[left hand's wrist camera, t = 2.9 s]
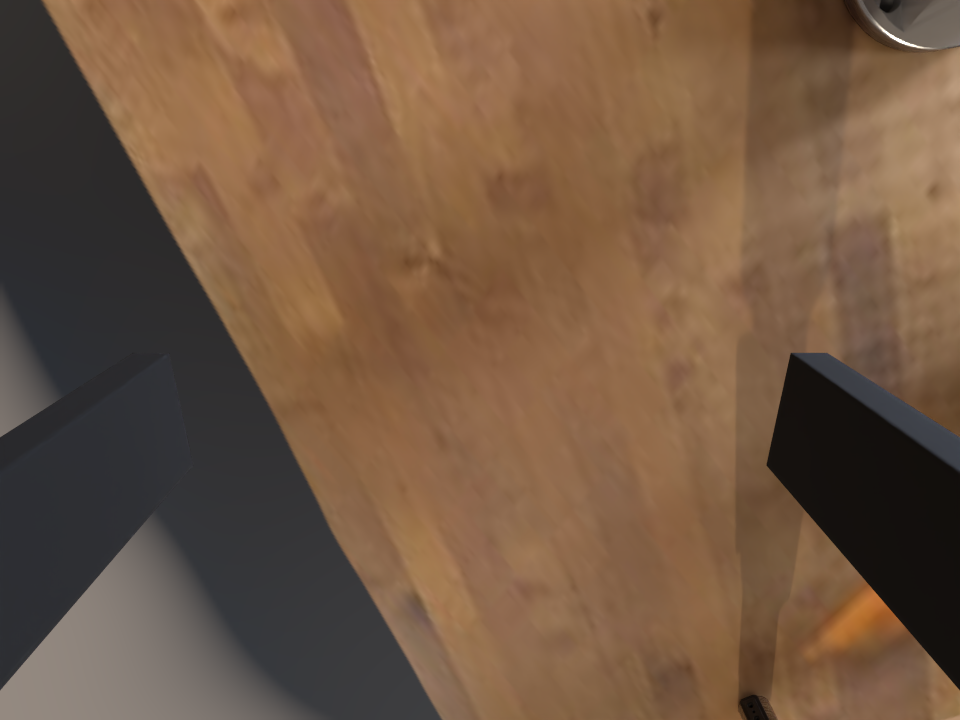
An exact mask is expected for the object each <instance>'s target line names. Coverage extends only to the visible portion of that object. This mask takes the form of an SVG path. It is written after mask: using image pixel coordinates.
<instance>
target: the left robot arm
mask: <svg viewBox="0 0 960 720" xmlns="http://www.w3.org/2000/svg"><path fill="white" fill-rule="evenodd" d="M844 1H845V4H846V6H847V8H848V10H849V12H850V13H851V15H852V16H853V18H854V20H855V21H856V22H857V23H858V25H859V26H860V27H861V28H862V29H863V30H864V31H865V32H866V33H867V34H868V35H869V36H871V37H872V38H874V39H875V40H876V41H878V42H880V43H882V44H884V45H886V46H889V47H891V48H894V49H898V50H902V51H908V52H930V51H938V50H943V49H949V48H954V47H959V46H960V0H844ZM192 466H193V461H192V456H191V451H190V447H189V442H188V437H187V433H186V428H185V424H184V419H183V415H182V410H181V405H180V401H179V396H178V391H177V387H176V382H175V378H174V373H173V368H172V364H171V359H170V355H169V353H132V354H131V355H129V356H127V357H126V358H124V359H123V360H121V361H120V362H118V363H116V364H115V365H113V366H112V367H110V368H109V369H107V370H105V371H104V372H102V373H101V374H99V375H98V376H96V377H94V378H93V379H91V380H90V381H88V382H87V383H85V384H83V385H82V386H80V387H79V388H77V389H76V390H74V391H72V392H71V393H69V394H68V395H66V396H65V397H63V398H61V399H60V400H58V401H57V402H55V403H54V404H52V405H50V406H49V407H47V408H46V409H44V410H43V411H41V412H39V413H38V414H36V415H35V416H33V417H32V418H30V419H28V420H27V421H25V422H24V423H22V424H21V425H19V426H17V427H16V428H14V429H13V430H11V431H10V432H8V433H6V434H5V435H3V436H2V437H0V690H1V689H2V687H3V686H4V685H5V684H6V683H7V682H8V681H9V679H10V678H11V677H12V676H13V675H14V674H15V672H16V671H17V670H18V669H19V668H20V667H21V665H22V664H23V663H24V662H25V661H26V660H27V658H28V657H29V656H30V655H31V654H32V653H33V651H34V650H35V649H36V648H37V647H38V646H39V644H40V643H41V642H42V641H43V640H44V639H45V637H46V636H47V635H48V634H49V633H50V632H51V630H52V629H53V628H54V627H55V626H56V625H57V624H58V622H59V621H60V620H61V619H62V618H63V616H64V615H65V614H66V613H67V612H68V611H69V610H70V608H71V607H72V606H73V605H74V604H75V603H76V601H77V600H78V599H79V598H80V597H81V596H82V594H83V593H84V592H85V591H86V590H87V589H88V587H89V586H90V585H91V584H92V583H93V582H94V580H95V579H96V578H97V577H98V576H99V575H100V574H101V572H102V571H103V570H104V569H105V568H106V566H107V565H108V564H109V563H110V562H111V561H112V560H113V558H114V557H115V556H116V555H117V554H118V553H119V551H120V550H121V549H122V548H123V547H124V546H125V544H126V543H127V542H128V541H129V540H130V539H131V537H132V536H133V535H134V534H135V533H136V532H137V530H138V529H139V528H140V527H141V526H142V525H143V523H144V522H145V521H146V520H147V519H148V518H149V516H150V515H151V514H152V513H153V512H154V511H155V510H156V508H157V507H158V506H159V505H160V504H161V503H162V501H163V500H164V499H165V498H166V497H167V496H168V494H169V493H170V492H171V491H172V490H173V489H174V487H175V486H176V485H177V484H178V483H179V482H180V480H181V479H182V478H183V477H184V476H185V475H186V473H187V472H188V471H189V470H190V469H191V468H192ZM767 467H768V468H769V469H770V470H771V471H772V472H773V473H774V475H775V476H776V477H777V478H778V479H779V480H780V482H781V483H782V484H783V485H784V486H785V487H786V489H787V490H788V491H789V492H790V493H791V494H792V496H793V497H794V498H795V499H796V500H797V501H798V503H799V504H800V505H801V506H802V507H803V508H804V510H805V511H806V512H807V513H808V514H809V515H810V517H811V518H812V519H813V520H814V521H815V522H816V523H817V525H818V526H819V527H820V528H821V529H822V530H823V532H824V533H825V534H826V535H827V536H828V537H829V539H830V540H831V541H832V542H833V543H834V544H835V546H836V547H837V548H838V549H839V550H840V551H841V553H842V554H843V555H844V556H845V557H846V558H847V560H848V561H849V562H850V563H851V564H852V565H853V567H854V568H855V569H856V570H857V571H858V572H859V574H860V575H861V576H862V577H863V578H864V579H865V580H866V582H867V583H868V584H869V585H870V586H871V587H872V589H873V590H874V591H875V592H876V593H877V594H878V596H879V597H880V598H881V599H882V600H883V601H884V603H885V604H886V605H887V606H888V607H889V608H890V610H891V611H892V612H893V613H894V614H895V615H896V617H897V618H898V619H899V620H900V621H901V622H902V624H903V625H904V626H905V627H906V628H907V629H908V631H909V632H910V633H911V634H912V635H913V636H914V637H915V639H916V640H917V641H918V642H919V643H920V644H921V646H922V647H923V648H924V649H925V650H926V651H927V653H928V654H929V655H930V656H931V657H932V658H933V660H934V661H935V662H936V663H937V664H938V665H939V667H940V668H941V669H942V670H943V671H944V672H945V674H946V675H947V676H948V677H949V678H950V679H951V681H952V682H953V683H954V684H955V685H956V686H957V687H958V689H959V690H960V437H958V436H957V435H955V434H954V433H952V432H950V431H949V430H947V429H946V428H944V427H943V426H941V425H939V424H938V423H936V422H935V421H933V420H932V419H930V418H928V417H927V416H925V415H924V414H922V413H921V412H919V411H917V410H916V409H914V408H913V407H911V406H910V405H908V404H906V403H905V402H903V401H902V400H900V399H899V398H897V397H895V396H894V395H892V394H891V393H889V392H888V391H886V390H884V389H883V388H881V387H880V386H878V385H877V384H875V383H873V382H872V381H870V380H869V379H867V378H866V377H864V376H862V375H861V374H859V373H858V372H856V371H855V370H853V369H851V368H850V367H848V366H847V365H845V364H844V363H842V362H840V361H839V360H837V359H836V358H834V357H833V356H831V355H829V354H828V353H791V355H790V359H789V364H788V368H787V373H786V378H785V382H784V387H783V391H782V396H781V401H780V405H779V410H778V414H777V419H776V424H775V428H774V433H773V437H772V442H771V447H770V451H769V456H768V460H767Z"/></svg>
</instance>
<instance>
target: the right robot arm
mask: <svg viewBox="0 0 960 720" xmlns="http://www.w3.org/2000/svg"><path fill="white" fill-rule="evenodd" d="M740 705H741V707H742V710H743V712H744V714H745V716H746V718H747V720H769V717H768V715H767V713H766V711H765V709H764V707H763V705H762V703H761V701H760V700H759V698H758V696H756V695H752V696H749V697H746V698H744V699H742V700H741V701H740Z"/></svg>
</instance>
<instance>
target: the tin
mask: <svg viewBox="0 0 960 720" xmlns="http://www.w3.org/2000/svg"><path fill="white" fill-rule="evenodd" d="M758 698H759V700H760V701H761V703H762V705H763V707H764V709H765V711H766V713H767V715H768V717H769V720H778V719H777V717H776V715H775V713H774V711H773V709H772V707H771V705H770V703H769V701H768V700H767V699H766V698H764V697H761V696H758ZM738 711H739V713H740V716H741V718H742V720H747V718H746V716H745V714H744V712H743V710H742V707H741V705H740V704H739V706H738Z"/></svg>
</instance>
